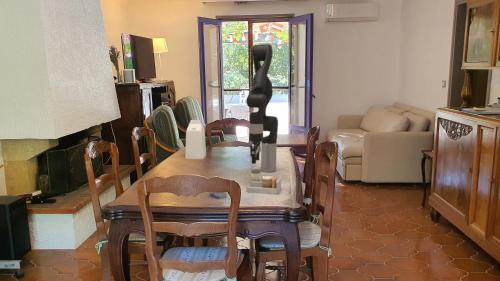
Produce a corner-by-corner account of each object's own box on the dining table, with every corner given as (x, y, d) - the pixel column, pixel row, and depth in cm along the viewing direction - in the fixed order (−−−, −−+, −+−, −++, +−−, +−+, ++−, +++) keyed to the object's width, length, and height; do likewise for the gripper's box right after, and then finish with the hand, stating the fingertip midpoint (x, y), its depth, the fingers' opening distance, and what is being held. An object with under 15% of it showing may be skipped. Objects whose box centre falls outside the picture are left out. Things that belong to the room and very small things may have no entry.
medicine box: (209, 195, 193) (209, 177, 192) (216, 193, 196) (216, 176, 195) (219, 198, 188) (219, 181, 186) (226, 196, 191) (226, 179, 189)
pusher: (274, 187, 205) (274, 176, 204) (276, 187, 205) (276, 176, 204) (271, 192, 197) (272, 180, 196) (273, 192, 197) (274, 180, 196)
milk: (206, 155, 283) (205, 119, 278) (202, 159, 272) (202, 121, 267) (189, 155, 284) (188, 118, 280) (185, 158, 273) (184, 120, 268)
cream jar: (252, 181, 218) (252, 168, 217) (261, 181, 217) (261, 169, 216) (250, 183, 213) (250, 171, 212) (259, 184, 212) (259, 171, 211)
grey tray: (251, 185, 209) (251, 174, 208) (281, 188, 206) (281, 176, 205) (246, 192, 199) (246, 180, 198) (277, 194, 195) (278, 182, 194)
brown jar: (263, 188, 205) (263, 175, 204) (272, 189, 204) (273, 175, 203) (261, 191, 200) (261, 177, 199) (271, 192, 199) (271, 178, 198)
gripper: (252, 130, 218) (251, 158, 221) (246, 133, 204) (245, 164, 207) (265, 130, 217) (264, 159, 219) (260, 134, 203) (259, 165, 205)
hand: (255, 161), depth 213 cm, fingers open, 8 cm apart
